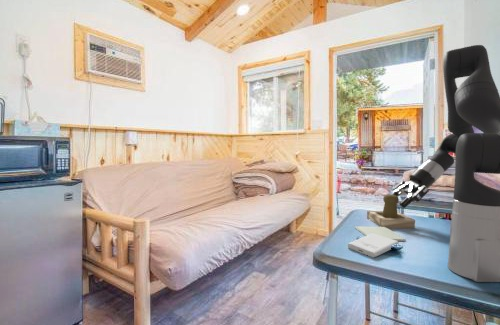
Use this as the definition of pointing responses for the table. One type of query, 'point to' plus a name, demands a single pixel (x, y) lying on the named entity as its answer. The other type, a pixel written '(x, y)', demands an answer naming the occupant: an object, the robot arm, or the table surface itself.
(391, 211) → the cork
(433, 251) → the table surface
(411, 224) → the holder
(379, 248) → the external hard drive
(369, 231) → the mat
